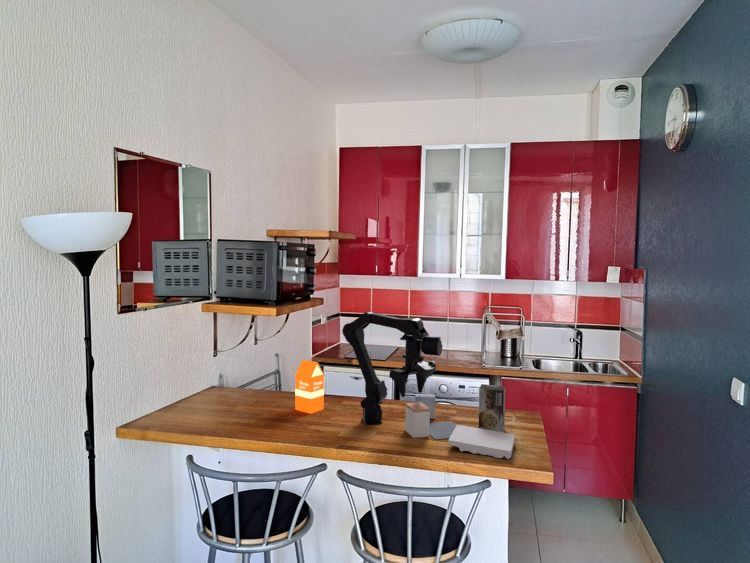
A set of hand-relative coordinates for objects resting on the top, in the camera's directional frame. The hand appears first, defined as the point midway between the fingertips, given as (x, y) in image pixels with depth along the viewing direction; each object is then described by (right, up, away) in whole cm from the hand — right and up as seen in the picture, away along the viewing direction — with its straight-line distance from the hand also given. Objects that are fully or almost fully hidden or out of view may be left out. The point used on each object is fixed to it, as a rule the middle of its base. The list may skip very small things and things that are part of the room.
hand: (411, 394), depth 188 cm
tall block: (+2, -13, -4) cm, 14 cm away
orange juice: (-40, -11, +21) cm, 47 cm away
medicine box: (+6, -12, +14) cm, 20 cm away
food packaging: (+22, -14, -16) cm, 31 cm away
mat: (+12, -13, -1) cm, 17 cm away
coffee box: (+29, -13, +1) cm, 32 cm away
